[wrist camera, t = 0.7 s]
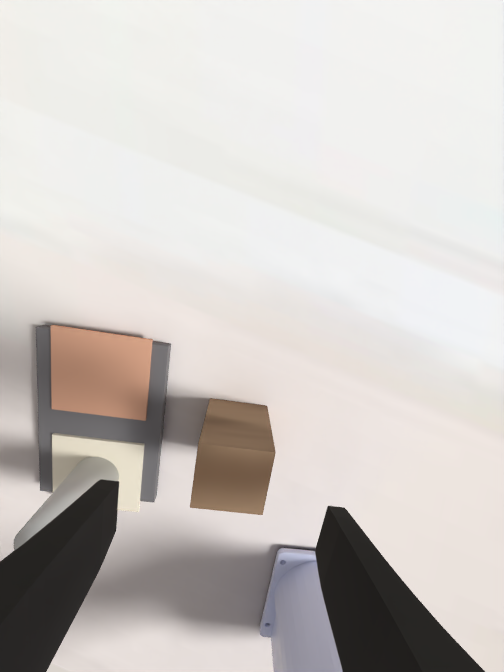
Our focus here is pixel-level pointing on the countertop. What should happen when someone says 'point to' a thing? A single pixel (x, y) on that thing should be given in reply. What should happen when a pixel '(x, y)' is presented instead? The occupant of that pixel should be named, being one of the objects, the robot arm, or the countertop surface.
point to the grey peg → (68, 494)
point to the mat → (101, 407)
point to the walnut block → (233, 458)
